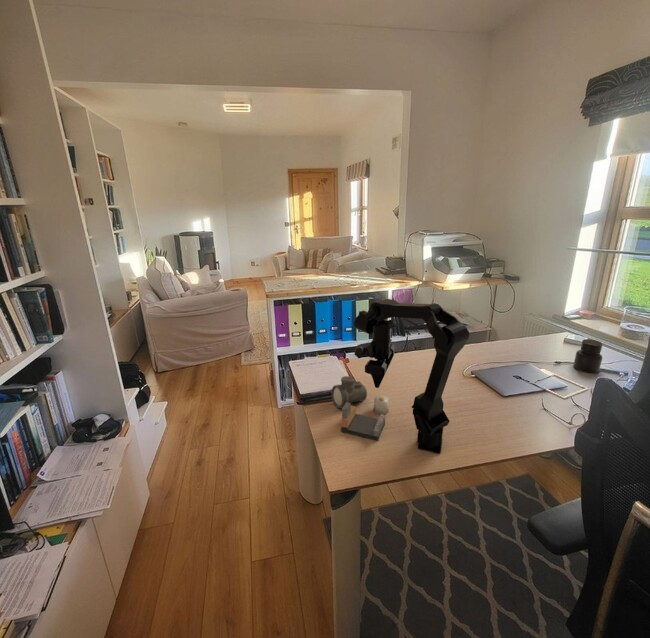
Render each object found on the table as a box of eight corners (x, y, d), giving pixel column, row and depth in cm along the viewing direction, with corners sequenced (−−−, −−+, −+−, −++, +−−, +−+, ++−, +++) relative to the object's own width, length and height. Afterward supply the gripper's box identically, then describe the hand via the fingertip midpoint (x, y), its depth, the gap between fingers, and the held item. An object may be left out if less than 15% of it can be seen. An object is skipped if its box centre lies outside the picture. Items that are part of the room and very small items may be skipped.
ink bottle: (589, 363, 153) (595, 337, 149) (605, 373, 144) (612, 346, 140) (567, 364, 152) (573, 338, 148) (582, 373, 144) (588, 347, 140)
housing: (389, 408, 124) (390, 395, 122) (386, 416, 119) (387, 403, 118) (375, 405, 125) (376, 393, 124) (372, 413, 121) (372, 400, 119)
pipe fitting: (340, 412, 121) (342, 384, 119) (329, 402, 128) (331, 376, 126) (369, 406, 126) (371, 380, 124) (357, 397, 133) (359, 372, 131)
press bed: (384, 424, 115) (385, 415, 114) (377, 440, 107) (378, 431, 106) (350, 416, 119) (350, 407, 118) (341, 431, 112) (341, 422, 111)
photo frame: (543, 368, 148) (588, 387, 132) (542, 370, 148) (588, 390, 133) (519, 376, 142) (564, 397, 127) (519, 378, 142) (564, 400, 127)
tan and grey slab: (355, 414, 118) (355, 397, 116) (347, 427, 111) (347, 410, 109) (349, 412, 118) (349, 396, 116) (341, 426, 112) (341, 409, 109)
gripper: (364, 325, 124) (364, 365, 129) (348, 346, 107) (348, 390, 112) (396, 329, 120) (394, 370, 125) (384, 350, 103) (383, 396, 109)
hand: (380, 381), depth 118 cm, fingers open, 9 cm apart
